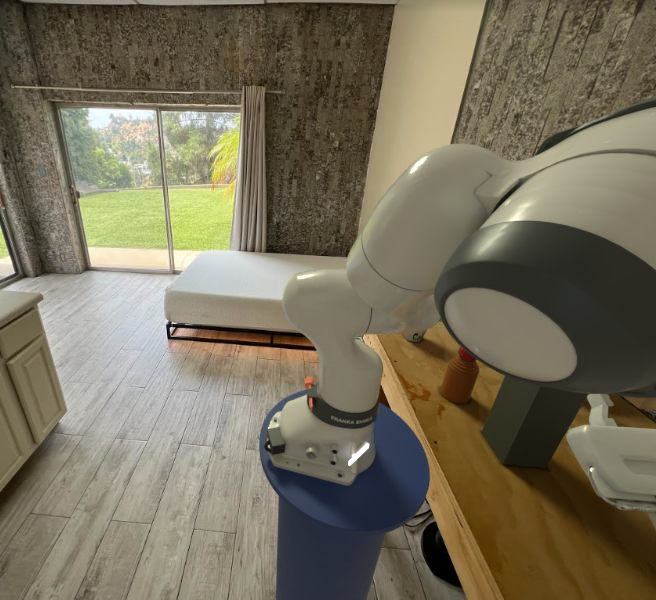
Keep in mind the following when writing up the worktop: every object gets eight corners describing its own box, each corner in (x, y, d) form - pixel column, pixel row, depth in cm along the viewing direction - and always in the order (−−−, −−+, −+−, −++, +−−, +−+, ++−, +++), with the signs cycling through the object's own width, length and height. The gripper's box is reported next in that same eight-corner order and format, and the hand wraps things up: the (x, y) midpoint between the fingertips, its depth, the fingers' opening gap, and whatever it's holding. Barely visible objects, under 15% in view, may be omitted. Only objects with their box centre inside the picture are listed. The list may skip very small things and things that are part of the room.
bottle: (446, 403, 78) (461, 357, 73) (436, 385, 84) (449, 342, 78) (474, 404, 78) (491, 359, 72) (461, 387, 84) (476, 343, 78)
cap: (472, 351, 77) (474, 344, 76) (480, 361, 74) (483, 353, 73) (454, 350, 78) (457, 343, 77) (462, 360, 74) (465, 352, 73)
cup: (412, 346, 101) (419, 319, 96) (394, 334, 108) (399, 308, 103) (431, 341, 103) (439, 314, 99) (412, 329, 110) (418, 303, 106)
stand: (500, 477, 61) (554, 369, 49) (469, 428, 71) (507, 329, 60) (568, 483, 60) (639, 373, 48) (526, 432, 70) (576, 332, 59)
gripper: (582, 509, 39) (537, 398, 47) (771, 526, 37) (691, 407, 45) (628, 508, 34) (569, 384, 42) (850, 528, 32) (745, 393, 40)
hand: (634, 396), depth 43 cm, fingers open, 8 cm apart
